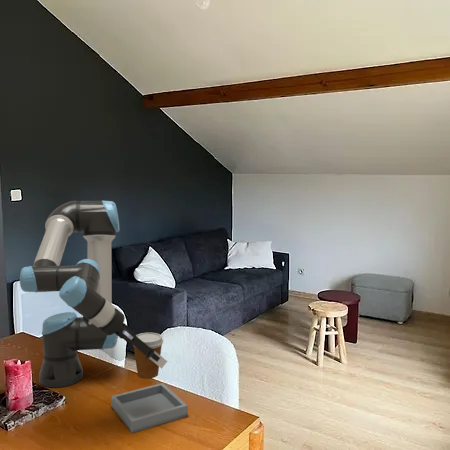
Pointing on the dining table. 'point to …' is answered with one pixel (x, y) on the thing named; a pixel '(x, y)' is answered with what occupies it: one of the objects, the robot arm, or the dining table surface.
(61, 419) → the dining table surface
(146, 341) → the disposable coffee cup
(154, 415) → the tray
